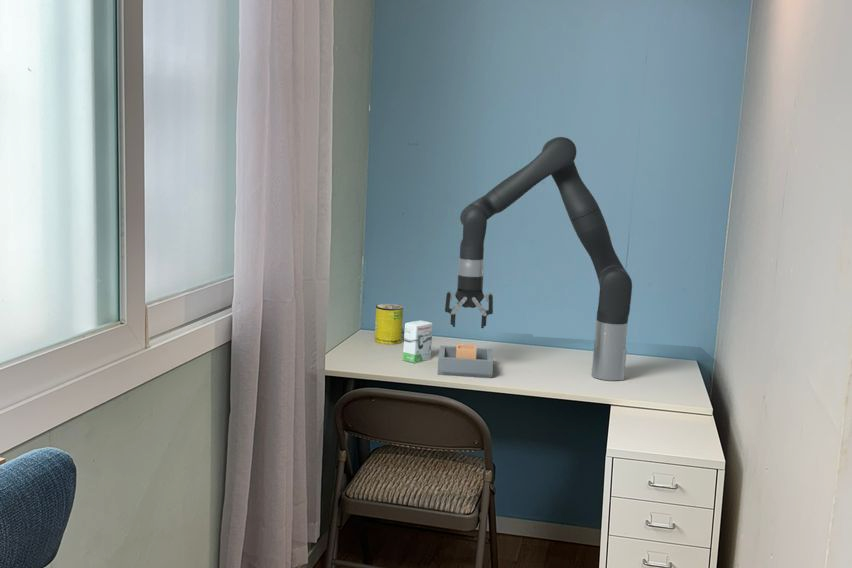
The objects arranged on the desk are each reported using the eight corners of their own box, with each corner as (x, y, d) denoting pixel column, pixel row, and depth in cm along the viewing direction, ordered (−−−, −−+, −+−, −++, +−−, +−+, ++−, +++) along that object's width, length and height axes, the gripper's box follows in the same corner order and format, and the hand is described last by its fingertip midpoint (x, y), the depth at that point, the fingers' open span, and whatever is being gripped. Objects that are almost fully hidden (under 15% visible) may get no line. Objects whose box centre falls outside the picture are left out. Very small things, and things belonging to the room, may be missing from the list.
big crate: (490, 364, 278) (491, 348, 277) (492, 378, 262) (493, 361, 261) (439, 361, 278) (440, 345, 278) (437, 374, 263) (438, 358, 262)
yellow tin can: (401, 339, 305) (403, 304, 303) (401, 345, 296) (402, 309, 295) (375, 337, 305) (376, 303, 303) (373, 343, 296) (375, 308, 294)
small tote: (475, 364, 273) (476, 345, 272) (475, 369, 267) (476, 349, 266) (455, 363, 273) (456, 343, 272) (455, 368, 267) (456, 348, 266)
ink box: (414, 363, 274) (416, 326, 272) (401, 360, 277) (403, 323, 275) (431, 359, 281) (433, 322, 279) (419, 356, 284) (421, 319, 282)
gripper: (494, 272, 269) (491, 325, 271) (446, 270, 269) (444, 323, 272) (495, 276, 261) (492, 331, 264) (446, 274, 262) (443, 328, 265)
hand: (468, 327), depth 268 cm, fingers open, 8 cm apart
